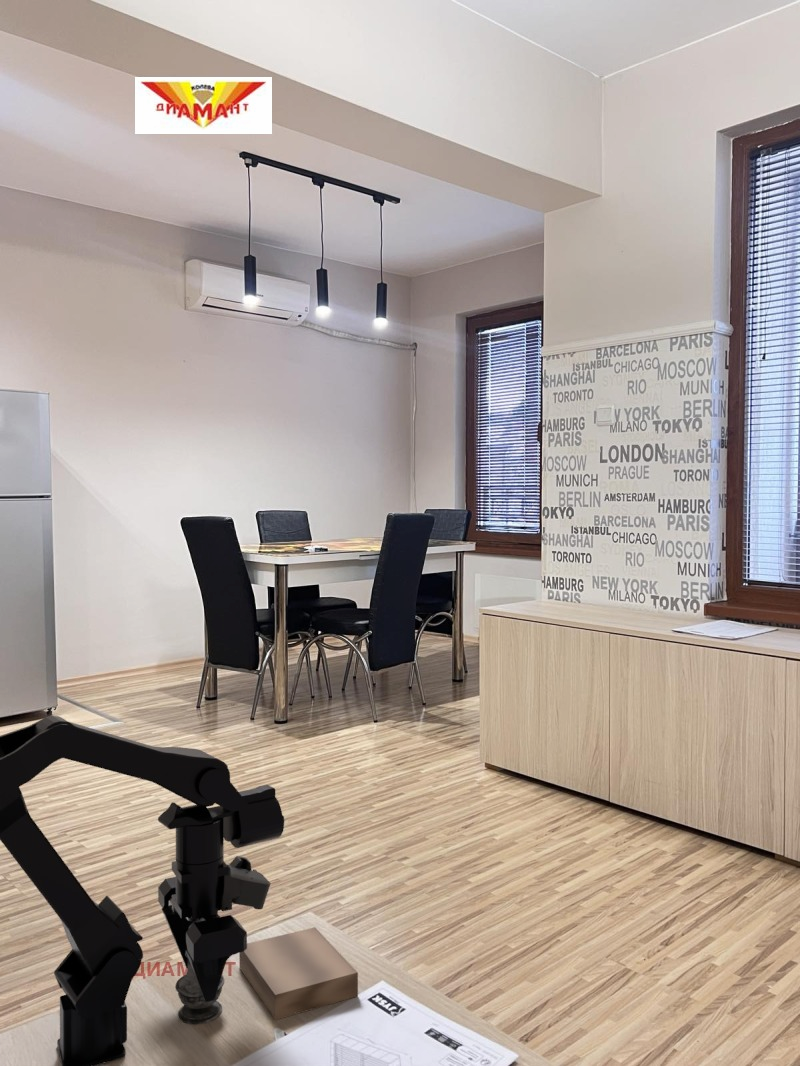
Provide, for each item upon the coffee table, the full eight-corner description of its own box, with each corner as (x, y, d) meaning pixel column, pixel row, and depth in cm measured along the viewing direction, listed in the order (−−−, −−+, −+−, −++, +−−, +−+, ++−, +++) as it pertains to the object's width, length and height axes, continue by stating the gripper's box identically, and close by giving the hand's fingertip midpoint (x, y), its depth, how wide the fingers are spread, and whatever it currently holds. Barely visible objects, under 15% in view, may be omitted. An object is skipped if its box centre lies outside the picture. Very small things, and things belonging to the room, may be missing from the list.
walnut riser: (275, 1019, 103) (275, 994, 103) (239, 967, 115) (239, 945, 115) (357, 996, 108) (357, 972, 108) (315, 948, 120) (315, 927, 120)
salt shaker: (164, 1017, 103) (164, 918, 103) (197, 994, 108) (197, 899, 108) (202, 1030, 101) (202, 929, 101) (234, 1006, 106) (234, 909, 106)
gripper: (289, 870, 100) (289, 1003, 100) (240, 822, 117) (240, 936, 117) (194, 889, 95) (195, 1029, 95) (157, 836, 111) (157, 956, 111)
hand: (200, 983), depth 105 cm, fingers closed on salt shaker, 8 cm apart
